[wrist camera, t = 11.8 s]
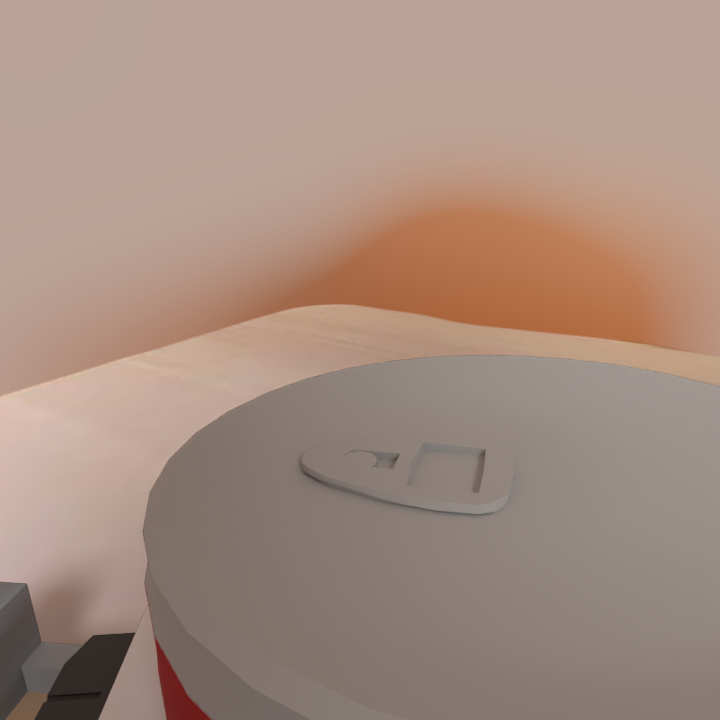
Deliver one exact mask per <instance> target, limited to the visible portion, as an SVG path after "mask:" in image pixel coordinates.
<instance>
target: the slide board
mask: <svg viewBox="0 0 720 720" xmlns="http://www.w3.org/2000/svg"><path fill="white" fill-rule="evenodd" d="M82 646H83V645H72V644H59V643H45V642H41V638H40V634H39V630H38V626H37V622H36V618H35V614H34V610H33V606H32V602H31V598H30V594H29V590H28V586H27V583H10V582H0V720H34V719H35V717H36V715H37V713H38V711H39V710H40V708H41V706H42V704H43V702H46V701H47V695H48V693H49V691H50V690H51V688H52V686H53V684H54V682H55V680H56V679H57V677H58V675H59V673H60V671H61V669H62V668H63V666H64V664H65V663H66V662H67V661H68V660H69V659H70V658H71V657H72V656H73V655H74V654H75V653H76V652H77V651H78V650H79V649H80V648H81V647H82Z"/></svg>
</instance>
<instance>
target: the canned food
mask: <svg viewBox="0 0 720 720" xmlns="http://www.w3.org/2000/svg"><path fill="white" fill-rule="evenodd" d="M143 536H144V542H145V548H146V553H147V559H148V561H147V569H146V576H145V589H146V594H147V600H148V606H149V611H150V617H151V622H152V628H153V633H154V639H155V644H156V650H157V662H158V674H159V680H160V685H161V691H162V696H163V702H164V707H165V712H166V718H167V720H720V386H716V385H712V384H708V383H704V382H700V381H695V380H691V379H687V378H683V377H679V376H675V375H670V374H666V373H660V372H655V371H649V370H643V369H638V368H632V367H627V366H621V365H615V364H606V363H598V362H590V361H582V360H573V359H563V358H548V357H533V356H506V355H466V356H443V357H426V358H417V359H407V360H397V361H388V362H382V363H376V364H370V365H365V366H359V367H353V368H347V369H343V370H339V371H335V372H331V373H327V374H323V375H319V376H315V377H311V378H308V379H305V380H302V381H299V382H296V383H293V384H290V385H287V386H285V387H282V388H279V389H276V390H273V391H270V392H268V393H266V394H263V395H261V396H259V397H257V398H255V399H253V400H251V401H249V402H247V403H245V404H242V405H240V406H238V407H236V408H234V409H232V410H230V411H228V412H226V413H225V414H223V415H222V416H220V417H219V418H217V419H216V420H214V421H213V422H211V423H210V424H208V425H207V426H205V427H204V428H202V429H201V430H199V431H198V432H196V433H195V434H194V435H193V436H192V437H191V438H190V439H189V440H188V441H187V442H186V443H185V444H184V445H183V446H182V447H181V448H180V449H179V450H178V451H177V452H176V453H175V454H174V455H173V456H172V457H171V458H170V459H169V460H168V462H167V464H166V465H165V467H164V469H163V471H162V472H161V474H160V476H159V477H158V479H157V481H156V483H155V484H154V486H153V488H152V489H151V491H150V495H149V500H148V505H147V511H146V516H145V522H144V527H143Z"/></svg>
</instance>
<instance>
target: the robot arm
mask: <svg viewBox="0 0 720 720" xmlns="http://www.w3.org/2000/svg"><path fill="white" fill-rule="evenodd" d="M34 720H167V718H166V712H165V707H164V702H163V696H162V691H161V685H160V680H159V674H158V662H157V650H156V644H155V639H154V633H153V628H152V622H151V617H150V611H149V606H148V605H147V607H146V610H145V612H144V614H143V617H142V619H141V621H140V624H139V626H138V628H137V631H136V633H124V634H108V635H93V636H92V637H91V638H90V639H89V640H88V641H87V642H86V643H85V644H84V645H83V646H82V647H81V648H80V649H79V650H78V651H77V652H76V653H75V654H74V655H73V656H72V657H71V658H70V659H69V660H68V661H67V662H66V663H65V664H64V666H63V668H62V669H61V671H60V673H59V675H58V677H57V679H56V680H55V682H54V684H53V686H52V688H51V690H50V691H49V693H48V695H47V701H46V702H43V704H42V706H41V708H40V710H39V711H38V713H37V715H36V717H35V719H34Z"/></svg>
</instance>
